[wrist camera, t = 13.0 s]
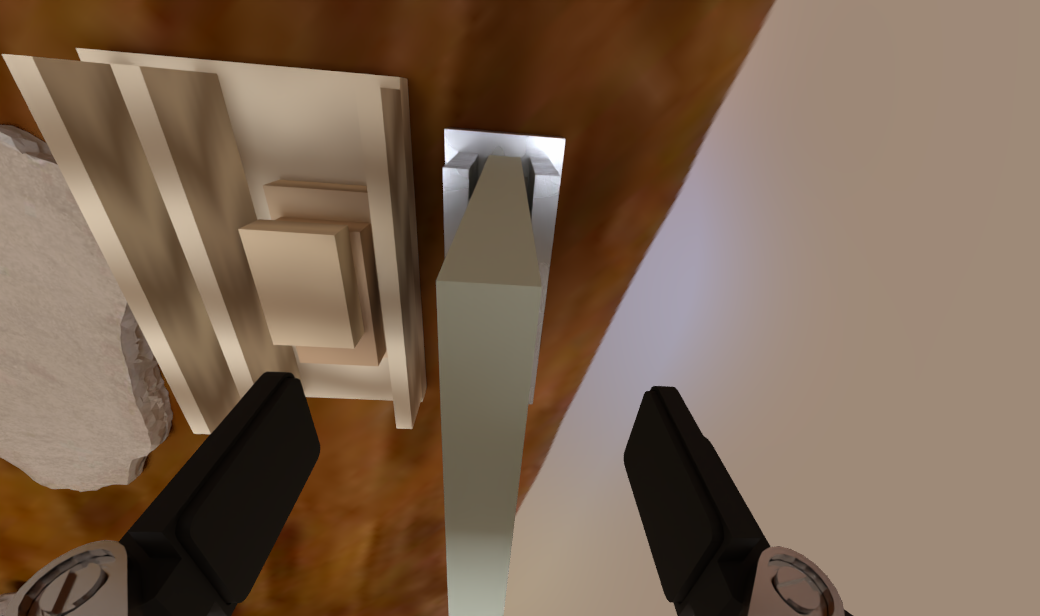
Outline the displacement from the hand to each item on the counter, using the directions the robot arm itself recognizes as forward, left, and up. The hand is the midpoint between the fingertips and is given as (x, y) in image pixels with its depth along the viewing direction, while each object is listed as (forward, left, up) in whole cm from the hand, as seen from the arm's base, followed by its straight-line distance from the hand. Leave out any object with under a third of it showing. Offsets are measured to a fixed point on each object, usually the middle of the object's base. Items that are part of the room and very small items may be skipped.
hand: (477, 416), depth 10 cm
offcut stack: (+2, -9, -13) cm, 15 cm away
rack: (+2, -12, -14) cm, 18 cm away
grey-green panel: (+1, 0, -13) cm, 13 cm away
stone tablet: (+9, -31, -15) cm, 36 cm away
